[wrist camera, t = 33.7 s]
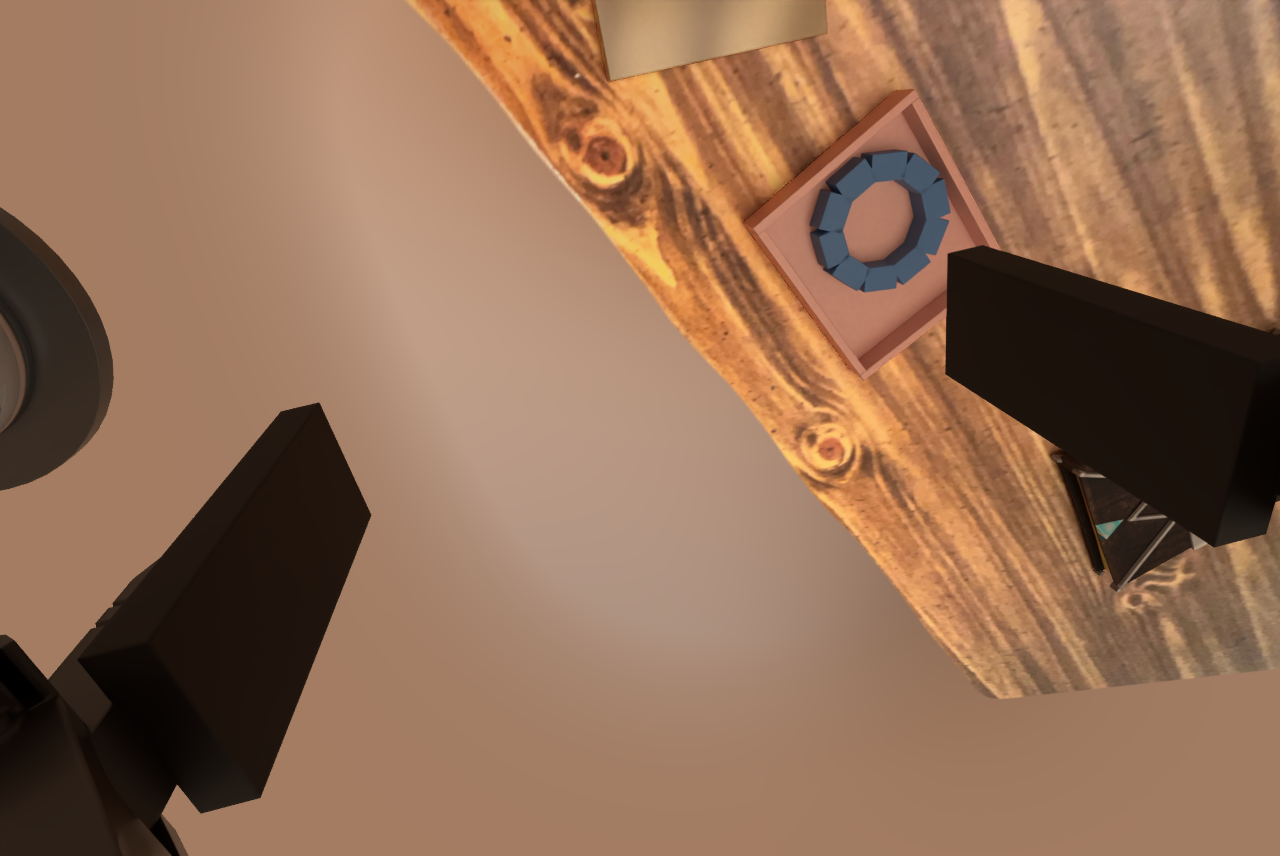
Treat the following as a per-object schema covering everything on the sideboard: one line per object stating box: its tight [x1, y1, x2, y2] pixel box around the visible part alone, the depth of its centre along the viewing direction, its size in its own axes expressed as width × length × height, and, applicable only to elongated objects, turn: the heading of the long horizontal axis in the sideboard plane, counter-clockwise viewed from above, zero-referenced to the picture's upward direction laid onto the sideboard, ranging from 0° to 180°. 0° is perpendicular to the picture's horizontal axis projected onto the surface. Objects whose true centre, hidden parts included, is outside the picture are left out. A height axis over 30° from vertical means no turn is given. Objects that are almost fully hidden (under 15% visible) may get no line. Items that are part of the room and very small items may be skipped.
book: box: [1051, 329, 1280, 592], centre depth 61 cm, size 22×17×5 cm
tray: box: [743, 89, 1001, 380], centre depth 48 cm, size 15×13×2 cm
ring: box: [810, 149, 951, 293], centre depth 47 cm, size 9×10×2 cm
